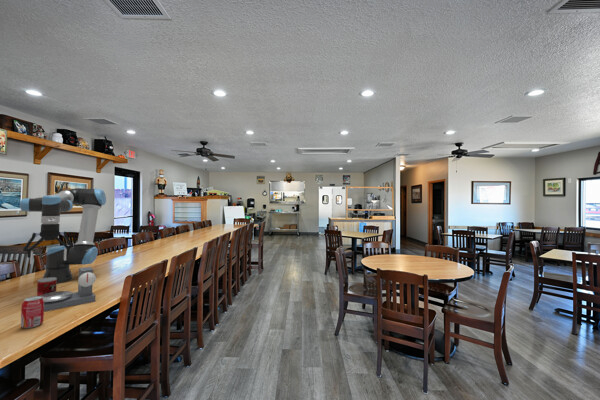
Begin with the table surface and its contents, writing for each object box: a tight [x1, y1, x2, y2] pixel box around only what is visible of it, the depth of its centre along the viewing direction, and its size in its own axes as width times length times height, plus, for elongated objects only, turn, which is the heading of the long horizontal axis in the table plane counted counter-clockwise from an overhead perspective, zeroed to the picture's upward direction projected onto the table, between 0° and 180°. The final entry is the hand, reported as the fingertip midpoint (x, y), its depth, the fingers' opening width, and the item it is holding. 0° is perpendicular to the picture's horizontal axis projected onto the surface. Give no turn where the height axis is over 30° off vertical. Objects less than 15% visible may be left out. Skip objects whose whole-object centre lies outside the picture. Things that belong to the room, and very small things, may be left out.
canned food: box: [36, 277, 58, 296], centre depth 146 cm, size 8×8×11 cm
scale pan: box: [40, 290, 73, 302], centre depth 138 cm, size 14×14×2 cm
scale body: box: [44, 266, 97, 313], centre depth 141 cm, size 14×24×17 cm, turn 138°
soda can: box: [20, 295, 45, 329], centre depth 116 cm, size 7×7×12 cm
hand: (48, 261), depth 146 cm, fingers open, 13 cm apart
